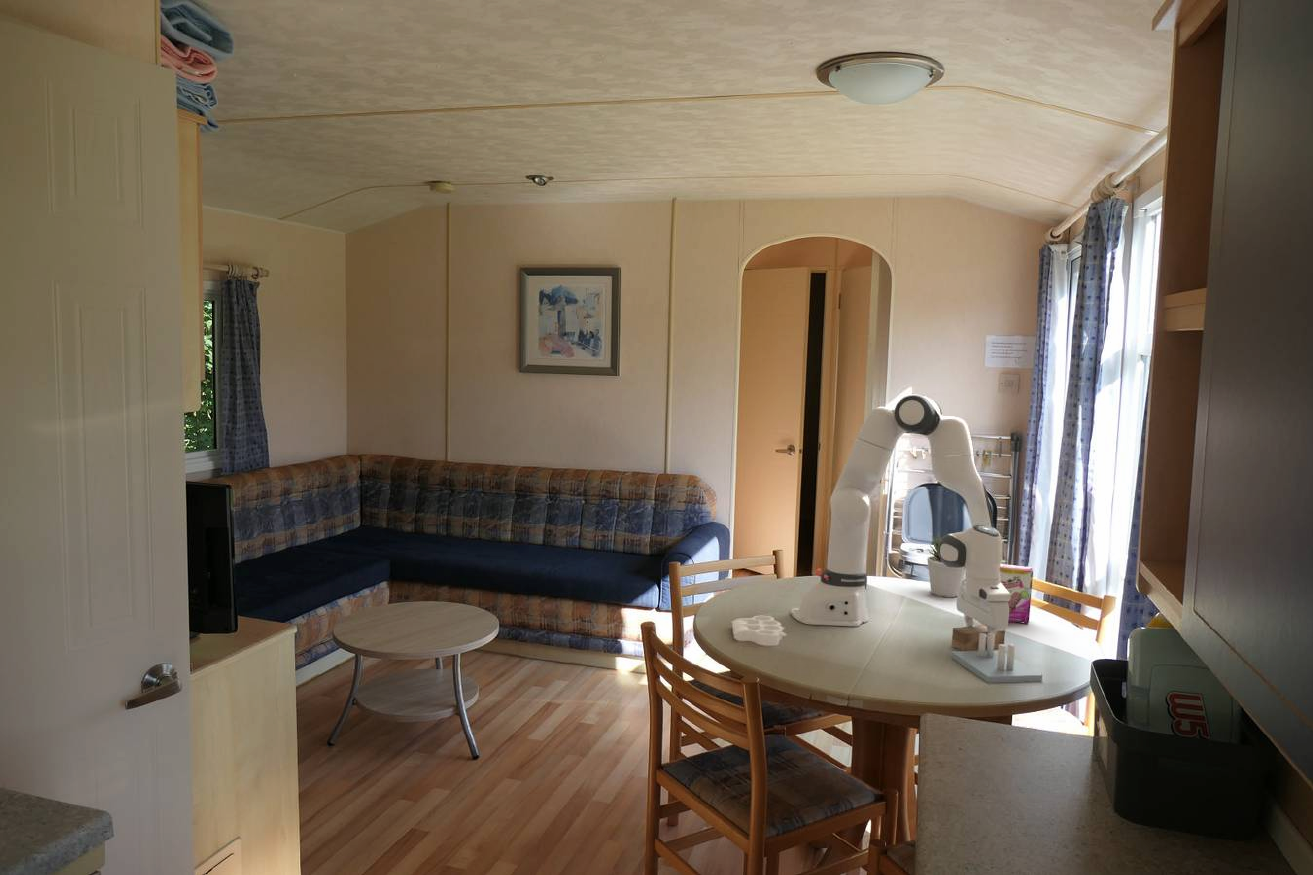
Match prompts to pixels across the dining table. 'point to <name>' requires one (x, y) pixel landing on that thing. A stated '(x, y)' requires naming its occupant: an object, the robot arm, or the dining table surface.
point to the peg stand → (995, 662)
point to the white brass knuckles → (758, 630)
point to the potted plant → (943, 575)
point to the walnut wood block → (973, 637)
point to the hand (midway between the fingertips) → (979, 637)
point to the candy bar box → (1018, 590)
